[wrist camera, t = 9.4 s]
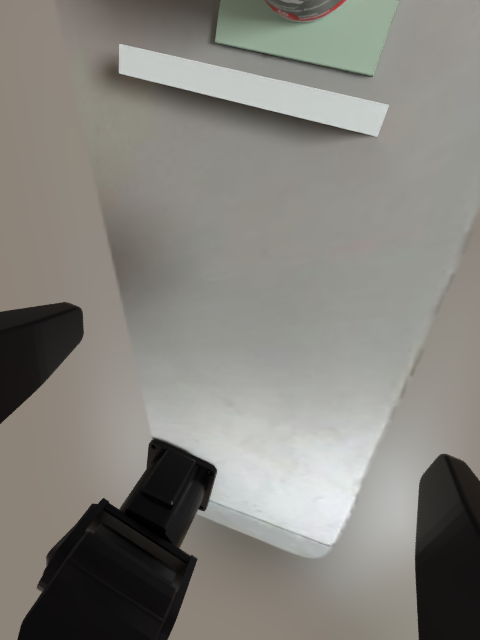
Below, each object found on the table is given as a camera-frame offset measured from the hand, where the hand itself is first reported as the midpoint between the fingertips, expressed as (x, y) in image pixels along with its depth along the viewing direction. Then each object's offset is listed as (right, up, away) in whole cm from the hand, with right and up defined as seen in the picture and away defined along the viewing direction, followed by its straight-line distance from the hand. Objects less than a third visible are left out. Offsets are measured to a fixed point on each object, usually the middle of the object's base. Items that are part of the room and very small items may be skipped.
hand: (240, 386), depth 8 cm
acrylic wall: (+1, +12, +8) cm, 14 cm away
